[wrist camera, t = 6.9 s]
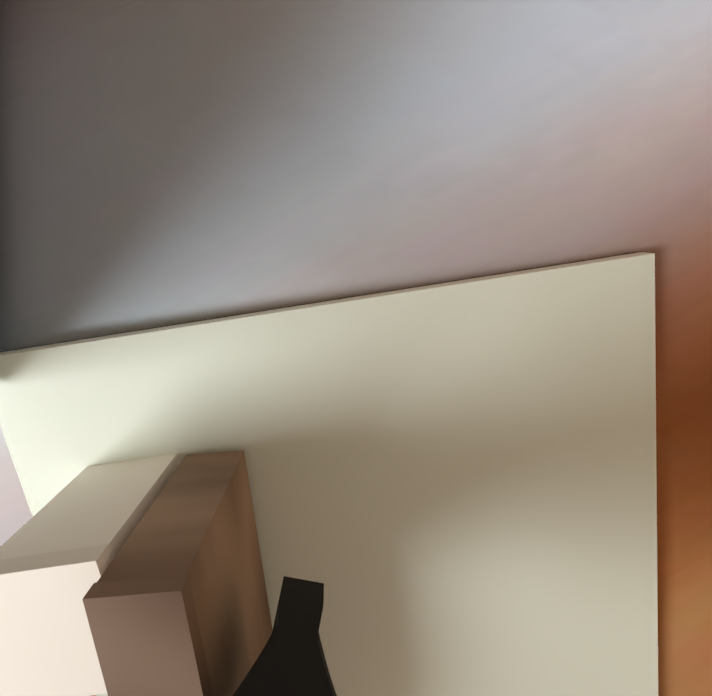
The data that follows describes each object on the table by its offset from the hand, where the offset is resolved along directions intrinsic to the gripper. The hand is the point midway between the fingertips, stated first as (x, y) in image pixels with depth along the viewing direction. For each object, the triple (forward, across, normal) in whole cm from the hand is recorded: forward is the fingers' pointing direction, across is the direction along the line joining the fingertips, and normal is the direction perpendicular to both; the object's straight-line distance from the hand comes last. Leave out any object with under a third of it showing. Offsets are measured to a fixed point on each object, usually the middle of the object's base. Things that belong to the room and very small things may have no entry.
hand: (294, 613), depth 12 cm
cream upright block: (+3, +5, 0) cm, 6 cm away
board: (+4, -2, +3) cm, 5 cm away
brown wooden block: (+3, +1, +3) cm, 4 cm away
